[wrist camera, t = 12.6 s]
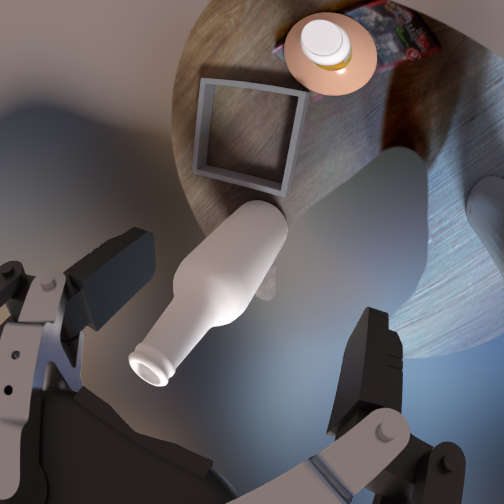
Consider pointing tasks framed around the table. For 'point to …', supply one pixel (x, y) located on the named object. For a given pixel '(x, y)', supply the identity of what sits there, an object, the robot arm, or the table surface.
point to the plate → (332, 81)
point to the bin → (235, 177)
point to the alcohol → (212, 287)
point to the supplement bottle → (326, 45)
